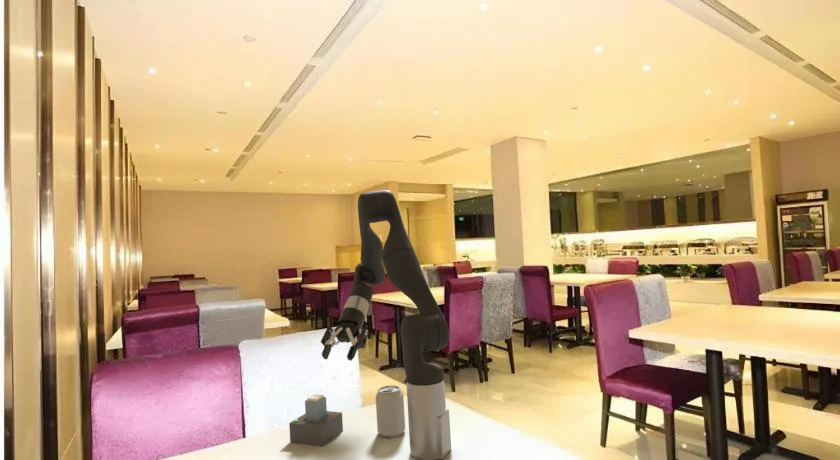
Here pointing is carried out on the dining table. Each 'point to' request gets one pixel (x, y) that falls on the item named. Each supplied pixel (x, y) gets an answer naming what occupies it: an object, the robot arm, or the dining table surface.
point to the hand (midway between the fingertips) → (336, 358)
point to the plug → (315, 408)
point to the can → (390, 411)
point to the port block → (316, 429)
